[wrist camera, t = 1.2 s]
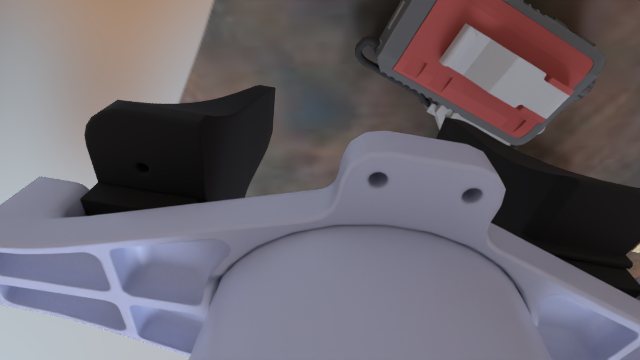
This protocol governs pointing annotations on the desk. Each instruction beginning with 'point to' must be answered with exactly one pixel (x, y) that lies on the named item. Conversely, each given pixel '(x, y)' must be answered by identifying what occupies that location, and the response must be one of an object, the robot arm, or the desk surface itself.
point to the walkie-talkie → (486, 63)
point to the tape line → (637, 248)
